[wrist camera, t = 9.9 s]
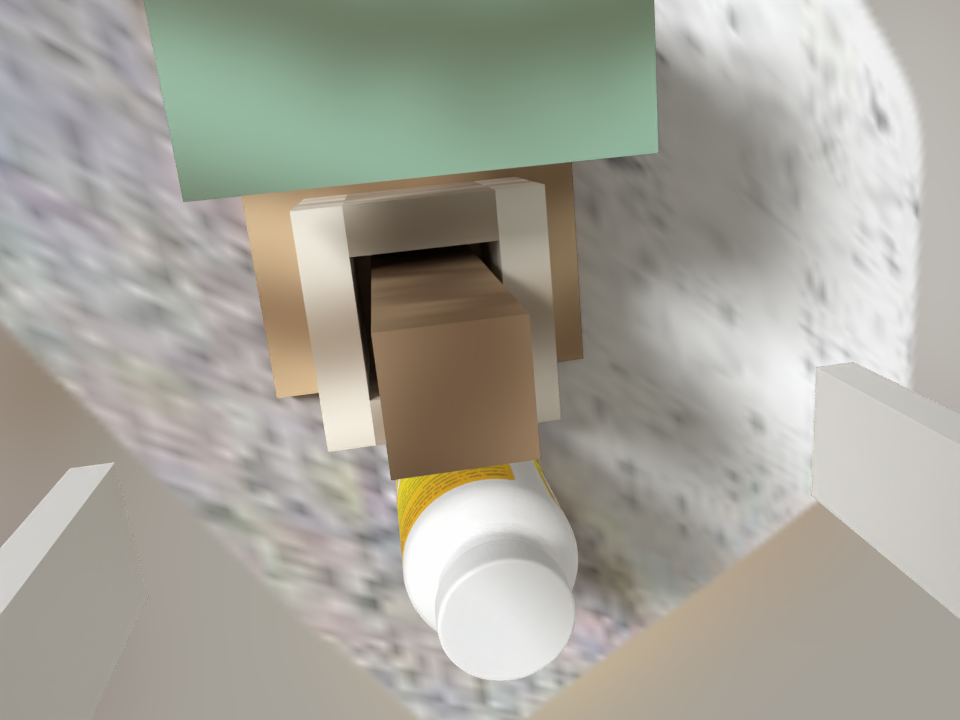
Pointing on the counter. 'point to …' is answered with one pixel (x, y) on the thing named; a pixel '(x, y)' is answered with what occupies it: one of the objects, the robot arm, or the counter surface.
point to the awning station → (401, 157)
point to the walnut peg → (451, 363)
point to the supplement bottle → (490, 566)
